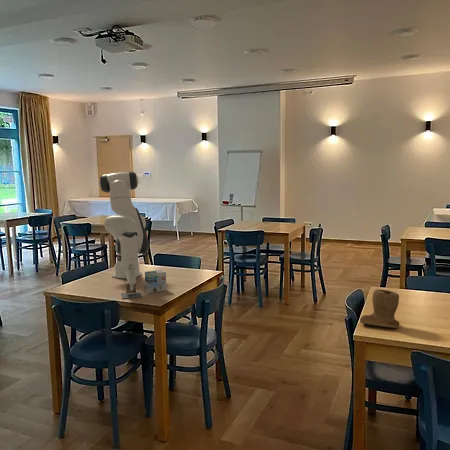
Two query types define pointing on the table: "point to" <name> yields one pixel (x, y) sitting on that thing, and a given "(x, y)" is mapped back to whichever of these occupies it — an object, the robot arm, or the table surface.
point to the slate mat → (131, 295)
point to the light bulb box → (155, 281)
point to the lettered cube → (129, 288)
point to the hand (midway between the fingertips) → (131, 288)
